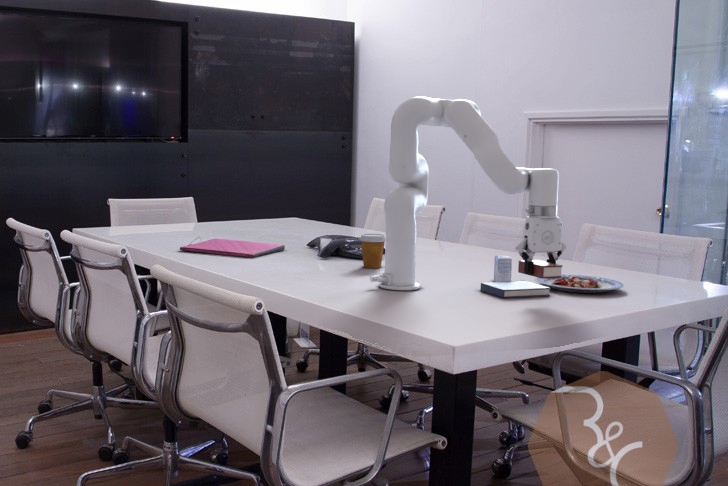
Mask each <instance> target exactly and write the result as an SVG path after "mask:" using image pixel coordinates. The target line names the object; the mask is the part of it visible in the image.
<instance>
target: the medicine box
mask: <svg viewBox="0 0 728 486" xmlns="http://www.w3.org/2000/svg"><path fill="white" fill-rule="evenodd" d="M512 267H513V259H512V258H511V256H509V255H505V254H502V255H501V254H498V255H497V254H495V255H494V265H493V268H494V269H493V282H512Z"/></svg>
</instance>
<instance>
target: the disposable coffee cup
mask: <svg viewBox="0 0 728 486" xmlns="http://www.w3.org/2000/svg"><path fill="white" fill-rule="evenodd" d="M359 240H360V242H361V243H360V244H361V253H362V263H363V267H364V268H367V269H381V268H382V264H383V263H382V261H383V255H384V251H385V249H384V248H385V243H386V234H382V233H361V235H360V237H359Z"/></svg>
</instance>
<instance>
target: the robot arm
mask: <svg viewBox="0 0 728 486" xmlns="http://www.w3.org/2000/svg"><path fill="white" fill-rule="evenodd" d="M419 126H431V127H443V128H451V129H452V130H453V131H454V132H455V133H456V135H457V136H458V137H459V138H460V139H461V141H462V142H463V143H464V144H465V146H466V147H467V148H468V149H469V150H470V151H471V153H472V154H473V156H474V159H475V160H476V161H477V163H478V165H479V166H480V168H481V169H482V170H483V172H484V173H485V174H486V176H487V177H488V178H489V179H490V180H491V182H492V183H493V184H494V185H495V186H496V187H497V189H499V190H500V191H501V192H503V193H504V194H507V195H516V194H521V193H528V207H527V208H525V214H528V215H527V216H526V217H525V221H524V226H523V232H522V239H521V241H520V242H519V243H518V244H517V246H515V251H516V252H517V254H518V255H519V256H520V257H521V259H522V260H525V261H524V273H525V274H524V275H527V276H530V277H531V275H533V267H534V262H533V261H532V260H534V257H535V254H537V253H546V255H547V257H548V258H547V259H546V262H550V263H554V264H557V261H558V260H559V257H560V256H561V255H562V254H563V252H564V251H565V250H566V248H567V245H566V244H565V243H563V240H562V238H563V237H562V223H561V218H560V216H558V201H559V180H560V173H559V171H558V170H557V169H556V168H548V167H547V168H546V167H545V168H544V167H540V168H537V167H536V168H528V167H522V166H516V165H515V164H514V163H513V162H512V161H511V159H509V157H508V156H507V155H506V153H505V152H504V151H503V149H502V147H501V144H500V141H499V135H498V133H497V132H496V131H495V130H494V129H493V127H492V126H490V124H489V123H488V122H487V121H486V120H485V119H484V118H483V116H482V111H481V107H480V106H479V105H478V104H477V103H476V102H474V101H472V100H468V99H462V98H458V99H443V98H434V97H433V98H432V97H427V96H413V97H411V98H408V99H406V100H405V101H403V102H401V103H400V104H399V105H398V106H397V107H396V109H395V110H394V112H393V114H392V117H391V124H390V145H389V165H388V172H389V177H390V178H391V180H392V181H394V182H395V183H398V184H399V185H398V186H399V187H398V188H394V189H392V190H391V191H390V192H389V193H388V194H387V195H386V197H385V199H384V203H383V212H384V220H385V238H386V240H385V243H384V248H385V249H384V271H381V274H379V275H370V276H369V281H370V282H371V283H376V282H377V283H379V284H378V286H379V287H380V288H381V289H386V290H390V291H415V290H416V291H417V290H420V288H421V284H420V283H419V282H417V281H416V268H417V267H416V264H417V259H416V258H417V221H416V216H418V215H421V214H422V212H424V211H425V209H426V207H427V205H428V199H429V198H428V196H429V176H430V175H429V173H430V172H429V170H430V169H429V165H428V162H427V159H425V157H424V156H423V155H422V154H420V153H419V142H420V141H419V132H418V129H419Z"/></svg>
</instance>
